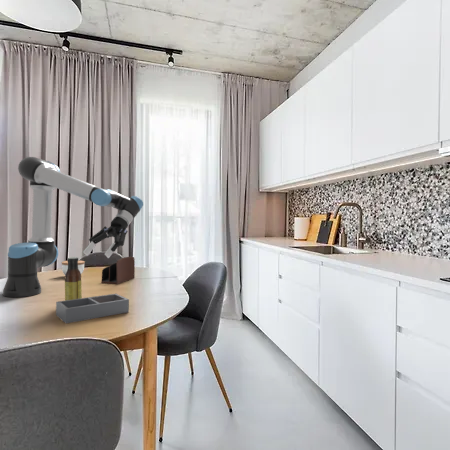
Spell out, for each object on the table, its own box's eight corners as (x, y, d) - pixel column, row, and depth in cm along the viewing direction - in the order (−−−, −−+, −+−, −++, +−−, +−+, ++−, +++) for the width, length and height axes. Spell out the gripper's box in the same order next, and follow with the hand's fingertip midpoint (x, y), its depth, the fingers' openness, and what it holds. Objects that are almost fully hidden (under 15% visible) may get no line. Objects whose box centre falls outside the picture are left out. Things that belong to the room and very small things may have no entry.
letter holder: (134, 278, 195) (135, 255, 195) (117, 284, 176) (117, 259, 176) (120, 277, 198) (120, 254, 197) (101, 283, 178) (101, 258, 178)
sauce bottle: (77, 302, 137) (78, 256, 136) (84, 305, 133) (85, 257, 132) (61, 305, 132) (62, 257, 131) (68, 308, 128) (69, 259, 127)
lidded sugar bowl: (63, 275, 199) (63, 257, 198) (85, 274, 202) (85, 257, 202) (59, 278, 187) (59, 260, 186) (82, 278, 190) (83, 259, 190)
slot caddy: (55, 315, 119) (56, 301, 119) (115, 305, 134) (116, 293, 134) (65, 323, 110) (66, 309, 110) (128, 312, 125) (128, 299, 125)
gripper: (145, 227, 151) (120, 262, 138) (107, 226, 163) (81, 258, 150) (137, 216, 146) (111, 251, 133) (99, 215, 158) (71, 247, 145)
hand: (95, 255), depth 141 cm, fingers open, 13 cm apart
